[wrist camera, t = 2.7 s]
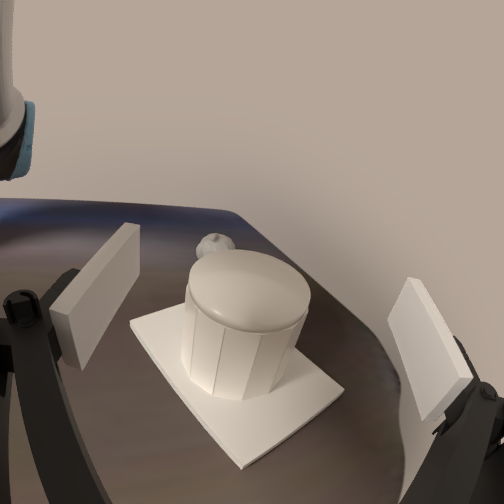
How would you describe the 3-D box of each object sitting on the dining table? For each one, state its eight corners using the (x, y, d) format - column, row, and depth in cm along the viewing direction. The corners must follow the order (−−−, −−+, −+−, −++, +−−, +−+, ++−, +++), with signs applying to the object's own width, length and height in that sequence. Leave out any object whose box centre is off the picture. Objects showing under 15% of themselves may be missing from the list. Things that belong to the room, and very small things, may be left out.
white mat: (130, 326, 34) (129, 320, 34) (226, 294, 43) (227, 288, 43) (241, 469, 23) (243, 465, 22) (341, 394, 32) (344, 389, 31)
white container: (161, 357, 31) (163, 276, 26) (224, 312, 39) (237, 238, 34) (245, 418, 26) (271, 345, 21) (299, 356, 34) (328, 284, 29)
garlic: (206, 276, 46) (210, 245, 43) (188, 257, 49) (192, 227, 47) (240, 268, 50) (246, 238, 47) (221, 250, 53) (226, 222, 50)
